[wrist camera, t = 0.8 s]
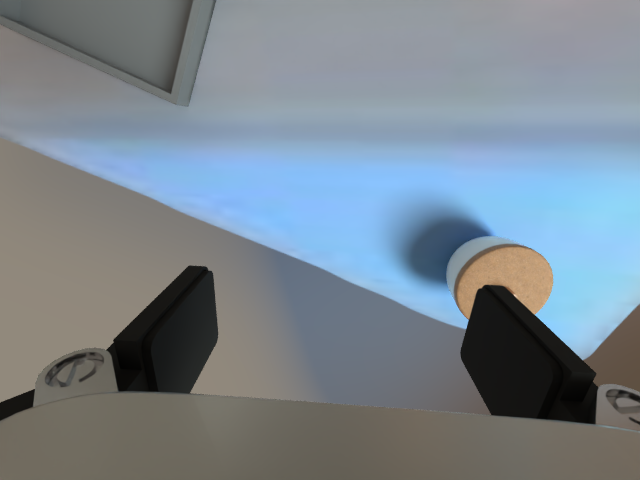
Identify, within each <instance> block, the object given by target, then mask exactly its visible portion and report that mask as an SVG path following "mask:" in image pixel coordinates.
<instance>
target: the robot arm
mask: <svg viewBox="0 0 640 480" xmlns="http://www.w3.org/2000/svg"><path fill="white" fill-rule="evenodd" d="M216 315H217V314H216V303H215V291H214V279H213V273H212V271H208V268H207V267H204V266H203V267H202V266H188V267H187V268H186V269H185V270H184V271H183V272H182V273H181V274H180V275H179V276H178V277H177V278H176V279H175V280H174V281H173V282H172V283H171V284H170V285H169V286H168V287H167V288H166V289H165V290H164V291H163V292H162V293H161V294H160V295H158V297H156V298H155V300H154V301H152V302H151V303H150V304H149V305H148V306H147V307H146V308H145V309H144V310H143V311H142V312H141V313H140V314H139V315H138V316H137V317H136V318H135V319H134V320H133V321H132V322H131V323H130V324H129V325H128V326H127V327H126V328H125V329H124V330H123V331H122V332H121V333H120V334H119V335H118V336H117V337H116V338H115V339H114V340H113V341H114V343H113V344H112V345H111V346H110V347H109V348H108V349H107V350H105V349H101V348H87V349H82V350H78V351H74V352H72V353H69V354H66V355H64V356H62V357H60V358H58V359H57V360H55V361H53V362H52V363H51V364H49V365H48V366H47V367H45V368H44V369H43V371H42V372H41V373H40V374H39V375H38V378H37V381H36V385H35V389H34V390H31V391H28V392H26V393H23V394H21V395H18V396H16V397H13V398H11V399H8V400H6V401H3V402H1V403H0V480H640V392H637V391H635V390H632V389H630V388H626V387H624V386H620V385H615V384H604V385H602V386H600V387H599V388H598V387H597V386H596V385H595V384H594V383H593V380H594V377H595V376H596V373H595V372H594V371H593V370H592V369H591V368H590V367H589V366H588V365H587V364H586V363H585V362H584V361H583V360H582V359H581V358H580V357H579V356H577V355H576V354H575V353H574V352H573V351H572V350H571V349H570V348H569V347H568V346H567V345H566V344H565V343H564V342H563V341H562V340H561V339H560V338H558V337H557V336H556V335H555V334H554V333H553V332H552V331H551V330H550V329H549V328H548V327H547V326H546V325H545V324H544V323H543V322H542V321H541V320H539V319H538V318H537V317H536V316H535V315H534V314H533V313H532V312H531V311H530V310H529V309H528V308H527V307H526V306H525V305H524V304H523V303H522V302H520V301H519V300H518V299H517V298H516V297H515V296H514V295H513V294H512V293H511V292H510V291H509V290H508V289H507V288H506V287H504V286H500V285H484V286H483V287H482V288H479V289H478V290H477V292H476V296H475V299H474V303H473V307H472V310H471V314H470V318H469V322H468V325H467V329H466V333H465V336H464V340H463V344H462V347H461V359H462V361H463V363H464V365H465V367H466V369H467V371H468V373H469V374H470V376H471V378H472V380H473V382H474V383H475V385H476V387H477V389H478V391H479V393H480V395H481V397H482V398H483V400H484V402H485V404H486V406H487V407H488V409H489V411H490V413H491V415H481V414H469V413H456V412H441V411H429V410H414V409H401V408H386V407H374V406H360V405H346V404H333V403H319V402H318V403H317V402H306V401H291V400H277V399H263V398H249V397H233V396H219V395H204V394H190V392H191V390H192V388H193V386H194V384H195V382H196V380H197V379H198V377H199V375H200V373H201V371H202V369H203V367H204V365H205V363H206V362H207V360H208V358H209V356H210V354H211V352H212V350H213V348H214V347H215V345H216V343H217V339H218V326H217V316H216Z"/></svg>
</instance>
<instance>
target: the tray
mask: <svg viewBox="0 0 640 480" xmlns="http://www.w3.org/2000/svg"><path fill="white" fill-rule="evenodd" d="M215 2H216V0H0V24H1V25H3V26H5V27H7V28H9V29H11V30H14V31H16V32H18V33H20V34H22V35H25V36H27V37H29V38H31V39H33V40H36V41H38V42H40V43H42V44H44V45H46V46H49V47H51V48H53V49H55V50H57V51H60V52H62V53H64V54H66V55H68V56H71V57H73V58H75V59H77V60H79V61H82V62H84V63H86V64H88V65H90V66H92V67H95V68H97V69H99V70H101V71H103V72H106V73H108V74H110V75H112V76H114V77H117V78H119V79H121V80H123V81H125V82H128V83H130V84H132V85H134V86H136V87H138V88H141V89H143V90H145V91H147V92H149V93H152V94H154V95H156V96H158V97H160V98H163V99H165V100H167V101H169V102H171V103H174V104H176V105H181V106H189V102H190V98H191V94H192V90H193V87H194V83H195V79H196V75H197V71H198V67H199V64H200V60H201V56H202V52H203V48H204V44H205V41H206V37H207V33H208V29H209V25H210V21H211V18H212V14H213V10H214V6H215Z"/></svg>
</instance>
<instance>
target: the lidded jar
mask: <svg viewBox="0 0 640 480" xmlns="http://www.w3.org/2000/svg"><path fill="white" fill-rule="evenodd" d="M446 279H447V284H448V288H449V291H450V293H451V295H452V297H453V299H454V300H455V302H456V304H457V306H458V308H459V310H460V311H461V312H462V314H463V315H464V316H465V317H466V318H467V319H468V320H469V318H470V314H471V310H472V307H473V303H474V299H475V296H476V292H477V290H478V289H479V288H482V287H483V286H484V285H500V286H504V287H506V288H507V289H508V290H509V291H510V292H511V293H512V294H513V295H514V296H515V297H516V298H517V299H518V300H519V301H520V302H522V303H523V304H524V305H525V306H526V307H527V308H528V309H529V310H530V311H531V312H532V313H533V314H536V313H537V312H538V311H539V310H540V309H541V308H542V307H543V305H544V304H545V303H546V301H547V300H548V298H549V296H550V293H551V290H552V286H553V274H552V269H551V267H550V265H549V263H548V262H547V260H546V259H545V258H544V257H543V256H542V255H541V254H539V253H538V252H536V251H534V250H533V249H531V248H528V247H526V246H524V245H522V244H520V243H518V242H516V241H513V240H510V239H508V238H503V237H498V236H484V237H478V238H475V239H472V240H470V241H468V242H466V243H464V244H463V245H461V246H460V247H459V248H458V249H457V250H456V251H455V252H454V254H453V255H452V257H451V258H450V260H449V263H448V266H447V272H446Z"/></svg>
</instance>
